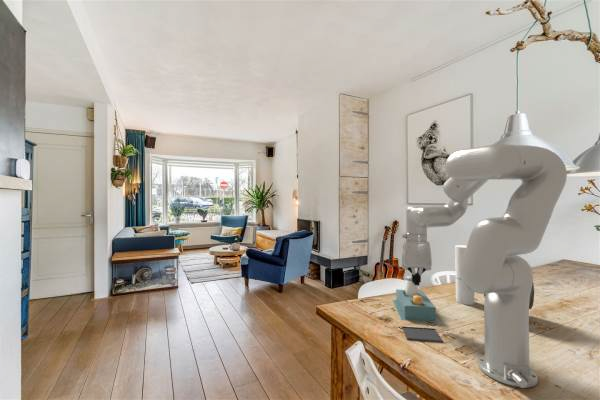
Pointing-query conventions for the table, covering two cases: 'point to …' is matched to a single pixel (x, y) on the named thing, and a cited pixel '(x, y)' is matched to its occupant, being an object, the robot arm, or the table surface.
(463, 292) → the cylindrical container
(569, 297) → the table surface
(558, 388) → the table surface
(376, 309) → the table surface
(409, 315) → the teal hollow block
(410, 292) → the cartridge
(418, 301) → the orange egg shape
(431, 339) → the mat
